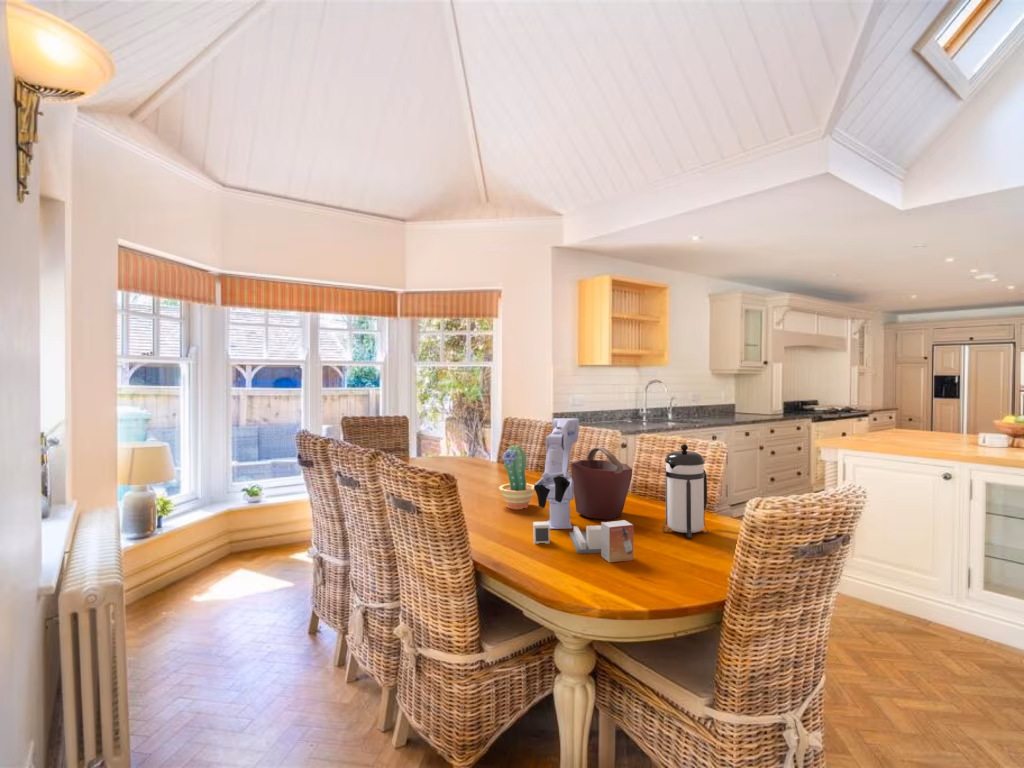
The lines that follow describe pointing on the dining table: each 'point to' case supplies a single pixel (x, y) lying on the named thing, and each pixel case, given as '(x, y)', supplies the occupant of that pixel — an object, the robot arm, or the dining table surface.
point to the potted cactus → (516, 479)
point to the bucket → (600, 485)
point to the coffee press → (685, 492)
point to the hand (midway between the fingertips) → (549, 504)
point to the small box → (617, 541)
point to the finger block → (541, 532)
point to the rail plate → (587, 539)
